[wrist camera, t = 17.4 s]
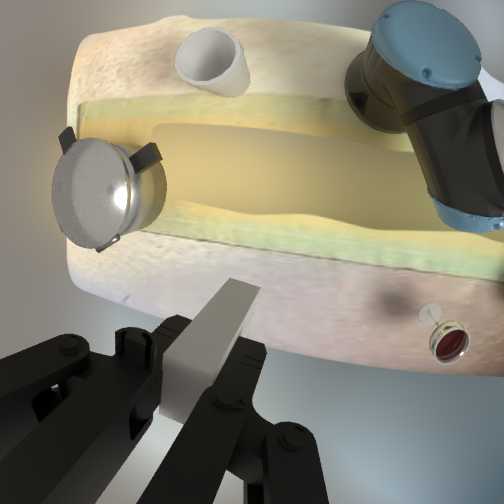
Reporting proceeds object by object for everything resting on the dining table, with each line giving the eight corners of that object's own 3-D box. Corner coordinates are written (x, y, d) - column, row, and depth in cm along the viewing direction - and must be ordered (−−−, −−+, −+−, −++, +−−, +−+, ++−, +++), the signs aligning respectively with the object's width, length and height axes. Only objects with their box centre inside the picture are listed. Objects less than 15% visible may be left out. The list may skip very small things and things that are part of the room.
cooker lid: (150, 221, 41) (146, 222, 40) (80, 265, 46) (76, 267, 45) (101, 100, 38) (96, 99, 37) (41, 160, 43) (37, 160, 42)
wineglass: (451, 305, 46) (477, 336, 34) (432, 334, 48) (453, 369, 36) (427, 292, 46) (451, 321, 35) (407, 322, 48) (425, 357, 37)
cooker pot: (201, 195, 51) (169, 201, 40) (105, 251, 59) (68, 267, 47) (164, 115, 49) (127, 104, 37) (77, 183, 56) (37, 188, 45)
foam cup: (198, 77, 46) (164, 53, 33) (241, 49, 43) (218, 16, 31) (224, 116, 47) (194, 98, 34) (269, 87, 44) (253, 59, 32)
